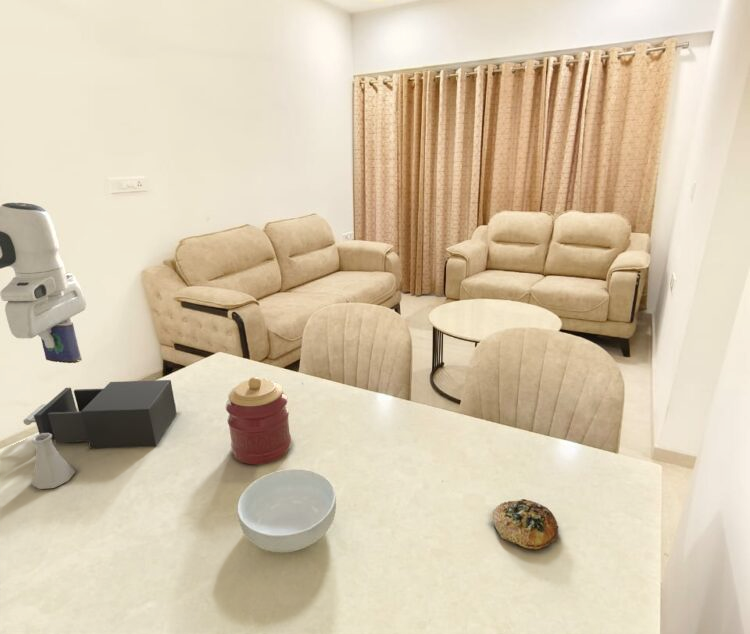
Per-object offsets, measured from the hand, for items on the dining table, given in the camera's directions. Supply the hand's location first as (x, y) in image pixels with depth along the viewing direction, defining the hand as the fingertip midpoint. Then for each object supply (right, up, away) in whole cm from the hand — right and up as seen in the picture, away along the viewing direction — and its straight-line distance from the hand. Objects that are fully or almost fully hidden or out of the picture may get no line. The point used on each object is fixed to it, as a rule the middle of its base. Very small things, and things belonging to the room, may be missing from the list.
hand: (58, 342), depth 111 cm
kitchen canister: (+45, -24, +1) cm, 51 cm away
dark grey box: (+13, -21, +9) cm, 26 cm away
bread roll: (+96, -33, -23) cm, 104 cm away
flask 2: (+4, -28, -8) cm, 29 cm away
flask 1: (0, -4, +2) cm, 4 cm away
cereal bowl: (+55, -33, -23) cm, 68 cm away
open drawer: (-1, -21, +8) cm, 22 cm away
